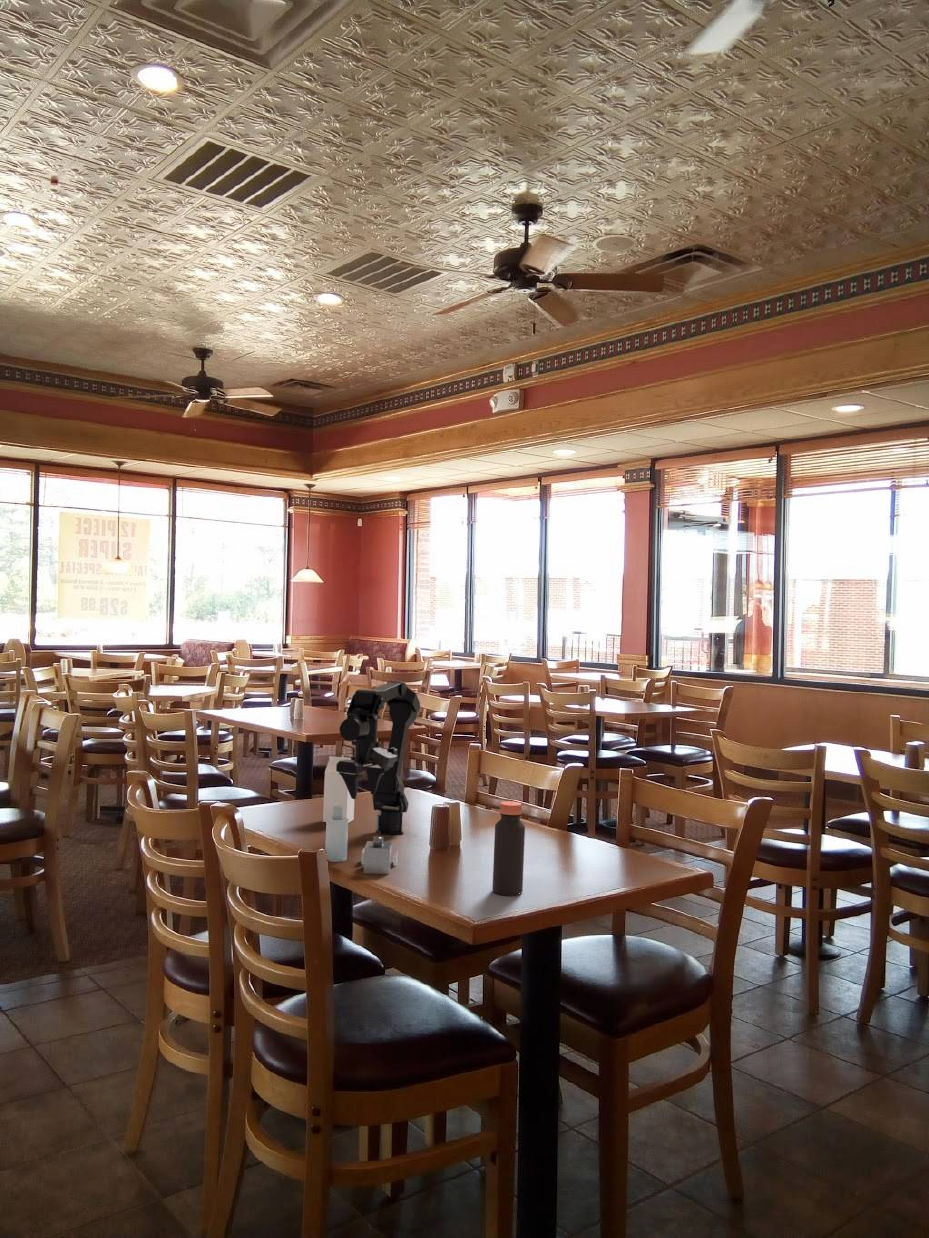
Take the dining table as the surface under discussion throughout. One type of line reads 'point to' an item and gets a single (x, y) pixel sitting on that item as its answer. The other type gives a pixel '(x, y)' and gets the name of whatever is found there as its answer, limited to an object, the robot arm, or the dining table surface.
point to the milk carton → (336, 791)
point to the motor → (378, 856)
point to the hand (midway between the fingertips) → (363, 796)
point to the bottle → (509, 850)
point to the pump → (336, 836)
